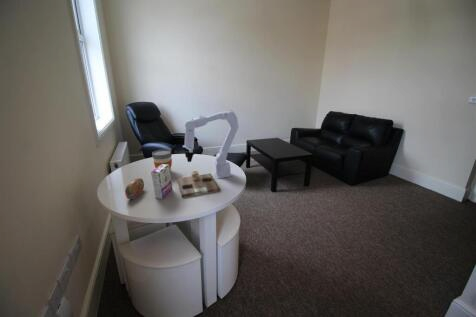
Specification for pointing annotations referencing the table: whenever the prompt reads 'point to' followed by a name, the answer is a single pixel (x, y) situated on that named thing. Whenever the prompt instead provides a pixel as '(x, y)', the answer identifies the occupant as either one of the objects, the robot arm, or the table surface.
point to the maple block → (195, 175)
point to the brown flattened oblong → (134, 188)
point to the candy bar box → (162, 181)
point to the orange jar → (162, 158)
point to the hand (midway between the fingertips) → (188, 159)
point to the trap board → (197, 185)
